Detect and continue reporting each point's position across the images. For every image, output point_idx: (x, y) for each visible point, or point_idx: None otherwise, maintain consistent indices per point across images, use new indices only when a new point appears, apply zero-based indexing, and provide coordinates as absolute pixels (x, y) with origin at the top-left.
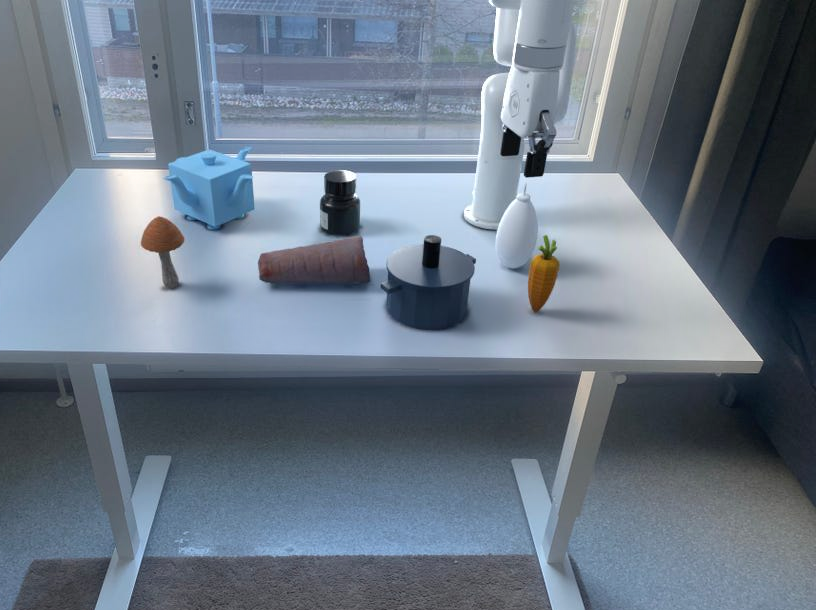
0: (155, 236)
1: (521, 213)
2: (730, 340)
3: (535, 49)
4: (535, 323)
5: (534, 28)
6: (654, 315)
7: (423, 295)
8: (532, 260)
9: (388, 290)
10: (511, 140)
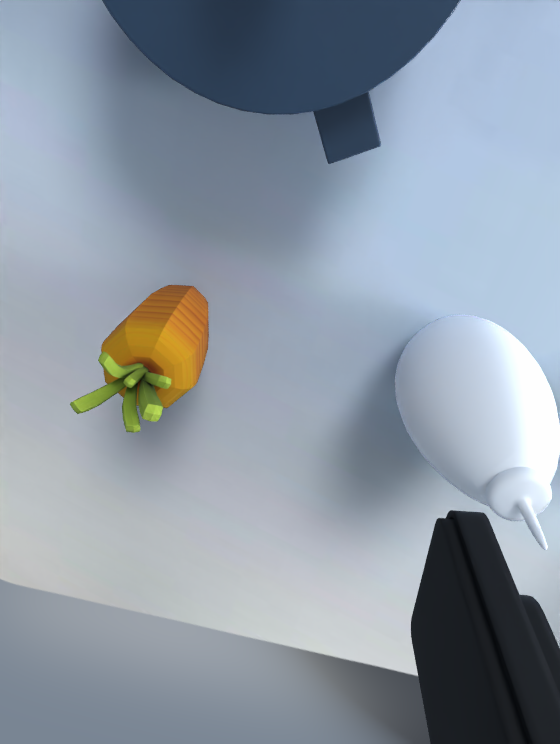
0: None
1: (458, 442)
2: (44, 582)
3: None
4: (140, 268)
5: None
6: (140, 522)
7: None
8: (158, 328)
9: None
10: (462, 722)
